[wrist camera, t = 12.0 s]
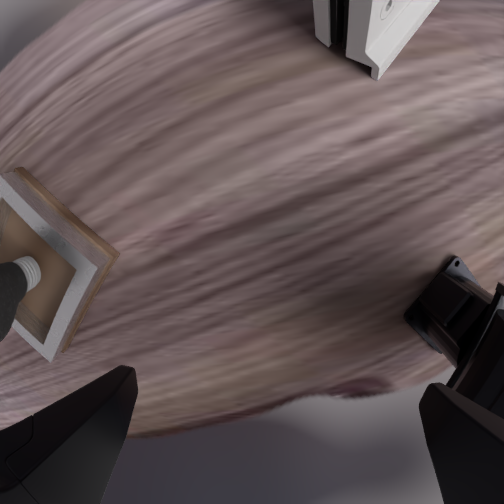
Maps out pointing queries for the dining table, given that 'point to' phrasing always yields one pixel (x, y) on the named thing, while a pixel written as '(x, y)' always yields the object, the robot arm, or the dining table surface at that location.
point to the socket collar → (64, 243)
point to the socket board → (49, 259)
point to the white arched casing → (370, 27)
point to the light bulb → (15, 288)
